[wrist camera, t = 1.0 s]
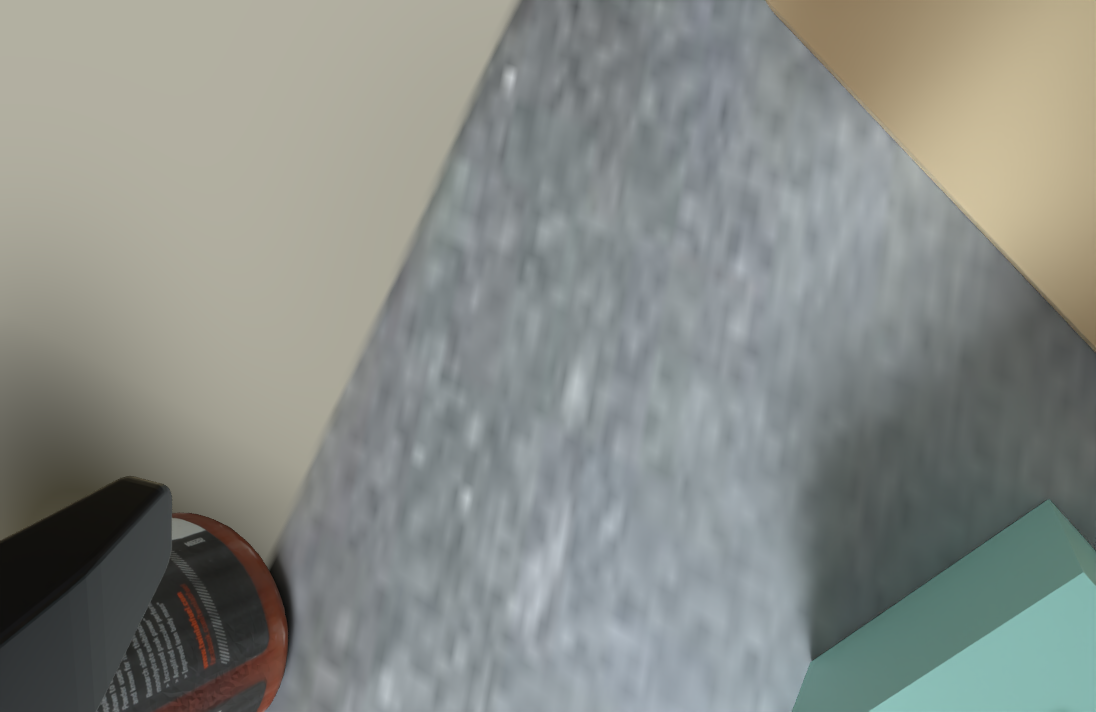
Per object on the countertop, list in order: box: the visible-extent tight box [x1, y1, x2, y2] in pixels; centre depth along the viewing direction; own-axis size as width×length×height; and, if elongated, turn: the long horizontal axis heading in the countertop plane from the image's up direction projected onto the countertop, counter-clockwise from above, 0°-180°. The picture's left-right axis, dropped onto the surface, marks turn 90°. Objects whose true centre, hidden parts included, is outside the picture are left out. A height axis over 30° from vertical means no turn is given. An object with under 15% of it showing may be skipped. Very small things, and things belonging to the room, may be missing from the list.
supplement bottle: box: [96, 513, 288, 712], centre depth 20 cm, size 6×6×11 cm
